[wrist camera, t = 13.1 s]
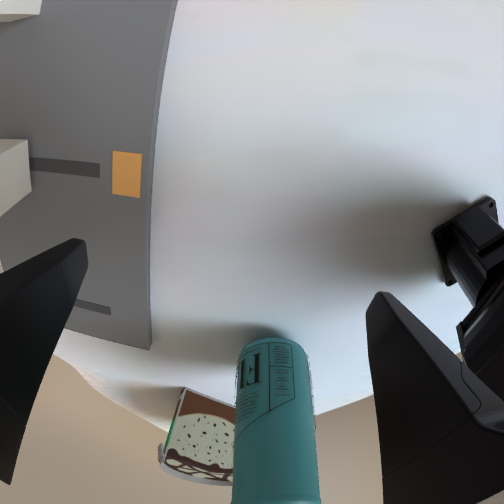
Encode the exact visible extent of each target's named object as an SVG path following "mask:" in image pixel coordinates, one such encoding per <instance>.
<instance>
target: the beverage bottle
mask: <svg viewBox="0 0 504 504" xmlns="http://www.w3.org/2000/svg"><path fill="white" fill-rule="evenodd" d="M239 356H240V357H239V362H237V363H238V366H237V365H236V366H237V367H238V368H237V369H238V370H237V369H236V370H237V371H236V373H237V374H238V378H237V396H236V403H235V404H236V406H235V405H234V406H235V407H236V412H235V413H236V414H234V416H235V420H234V419H233V420H234V421H235V432H234V442H233V443H234V445H233V446H234V447H233V446H232V447H233V448H234V450H232V451H233V469H232V470H233V484H232V501H231V504H321V499H320V491H319V477H318V466H317V453H316V442H315V431H314V417H315V415H314V414H313V408H314V406H313V404H312V400H313V398H312V396H313V395H311V391H312V389H313V388H312V387H311V386H310V383H311V384H312V382H311V381H310V379H311V378H310V377H311V376H310V377H309V375H310V374H311V372H310V373H309V368H308V367H309V366H308V360H307V356H308V355H307V356H306V353H305V351H304V350H303V348H302V347H301V346H300V345H299V344H297V343H296V342H294V341H292V340H289V339H285V338H274V337H273V338H263V339H259V340H256V341H253V342H251V343H249V344H248V345H247V346H246V347H244V349H243V350H242V352H241V354H240V355H239ZM308 358H309V357H308ZM309 364H310V363H309ZM236 377H237V375H236ZM235 386H236V381H235ZM311 388H312V389H311ZM313 397H314V396H313ZM234 398H235V397H234ZM234 409H235V408H234ZM314 412H315V411H314ZM233 423H234V422H233ZM315 427H316V426H315ZM231 455H232V454H231ZM231 466H232V465H231Z"/></svg>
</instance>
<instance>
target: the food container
mask: <svg viewBox="0 0 504 504" xmlns="http://www.w3.org/2000/svg"><path fill="white" fill-rule="evenodd" d="M234 408H235V409H234ZM235 412H236V407H235V406H234V405H231V404H228V403H225V402H223V401H220V400H217V399H215V398H212V397H209V396H207V395H204V394H202V393H199V392H197V391H194V390H192V389H189V388H187V387H185V388H184V389H183V390H182V391H181V394H180V398H179V401H178V404H177V407H176V410H175V414H174V417H173V420H172V423H171V427H170V430H169V433H168V437H167V440H166V443H165V446H164V450H163V443H161V444H160V445H159V446H158V461H159V463H160V467H161V469H162V470H163V471H165V472H167V473H168V474H170V475H172V476H175V477H178V478H180V479H184V480H187V481H192V482H196V483H201V484H208V485H218V486H232V484H233V470H232V469H233V451H232V450H234V448H233V447H234V446H233V445H234V443H233V442H234V432H235V421H234V420H235V416H234V414H236V413H235ZM233 419H234V420H233ZM233 422H234V423H233ZM232 446H233V447H232ZM231 454H232V455H231ZM231 465H232V466H231Z"/></svg>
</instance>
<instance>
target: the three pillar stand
mask: <svg viewBox="0 0 504 504" xmlns="http://www.w3.org/2000/svg"><path fill="white" fill-rule="evenodd" d="M177 1H178V0H0V139H28V155H29V168H30V179H31V188H32V191H31V192H30V193H28V194H27V195H26V196H25V197H23V198H22V199H21V200H20V201H19V202H17V203H16V204H15V205H14V206H12V207H11V208H10V209H9V210H8V211H7V212H5V213H4V214H3V215H2V216H1V217H0V260H1V263H2V266H3V270H4V272H5V271H7V270H9V269H11V268H12V267H14V266H16V265H18V264H20V263H22V262H24V261H26V260H28V259H30V258H32V257H34V256H36V255H38V254H40V253H42V252H44V251H46V250H48V249H50V248H52V247H54V246H56V245H58V244H60V243H63V242H65V241H67V240H69V239H71V238H78V239H83V240H84V241H85V242H86V246H87V254H88V269H87V272H86V275H85V277H84V280H83V282H82V285H81V288H80V290H79V293H78V296H77V299H76V301H75V304H74V307H73V309H72V312H71V314H70V316H69V318H68V320H67V322H66V325H65V327H64V328H66V329H69V330H72V331H76V332H79V333H82V334H86V335H89V336H93V337H97V338H100V339H104V340H108V341H112V342H116V343H120V344H124V345H128V346H132V347H136V348H141V349H145V350H150V347H151V344H152V338H151V316H150V217H151V195H152V178H153V164H154V152H155V141H156V131H157V122H158V113H159V105H160V97H161V90H162V83H163V76H164V69H165V63H166V57H167V51H168V46H169V40H170V35H171V30H172V25H173V20H174V15H175V10H176V6H177Z"/></svg>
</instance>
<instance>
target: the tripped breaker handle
mask: <svg viewBox="0 0 504 504" xmlns="http://www.w3.org/2000/svg"><path fill="white" fill-rule="evenodd" d="M31 191H32V188H31V179H30V168H29V155H28V139H0V217H1V216H2V215H3V214H4V213H5V212H7V211H8V210H9V209H10V208H11V207H12V206H14V205H15V204H16V203H17V202H19V201H20V200H21V199H22V198H23V197H25V196H26V195H27V194H28V193H30V192H31Z"/></svg>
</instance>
